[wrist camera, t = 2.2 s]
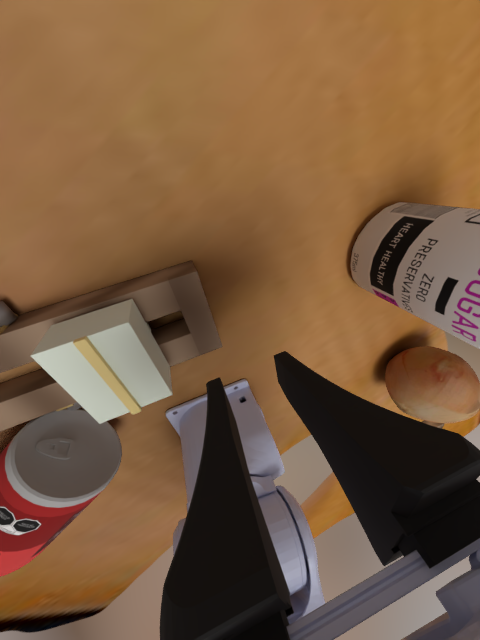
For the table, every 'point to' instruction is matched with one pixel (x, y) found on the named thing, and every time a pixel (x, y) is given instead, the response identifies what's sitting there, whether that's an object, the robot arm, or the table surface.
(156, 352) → the rider
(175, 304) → the wooden slotted frame
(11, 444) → the canned food
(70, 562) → the table surface
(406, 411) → the onion
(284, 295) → the table surface
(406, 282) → the supplement can
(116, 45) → the table surface
